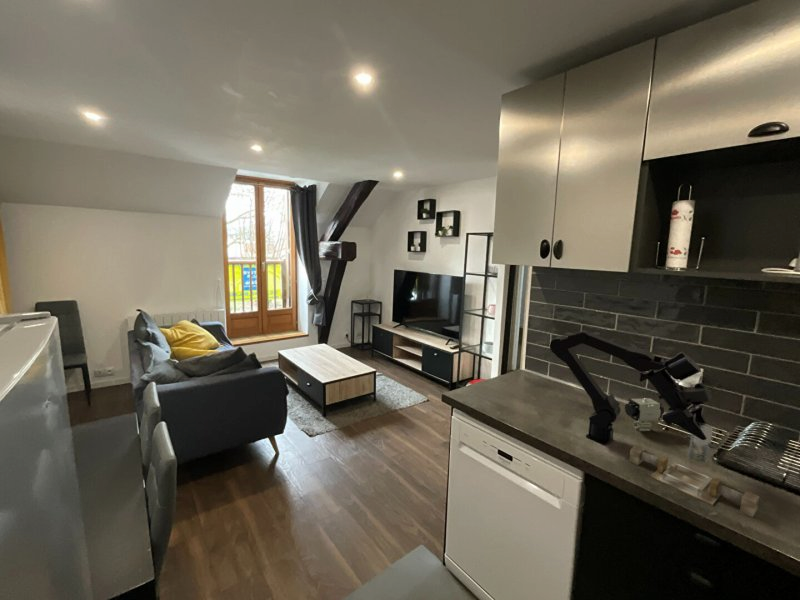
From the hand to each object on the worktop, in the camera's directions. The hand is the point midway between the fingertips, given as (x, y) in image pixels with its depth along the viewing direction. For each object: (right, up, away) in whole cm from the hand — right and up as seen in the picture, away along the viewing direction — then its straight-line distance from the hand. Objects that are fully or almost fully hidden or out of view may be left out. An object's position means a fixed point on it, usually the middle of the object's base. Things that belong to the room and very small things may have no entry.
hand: (707, 437), depth 102 cm
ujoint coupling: (-1, -7, +2) cm, 7 cm away
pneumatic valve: (0, -8, +28) cm, 29 cm away
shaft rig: (-7, -13, -1) cm, 15 cm away
